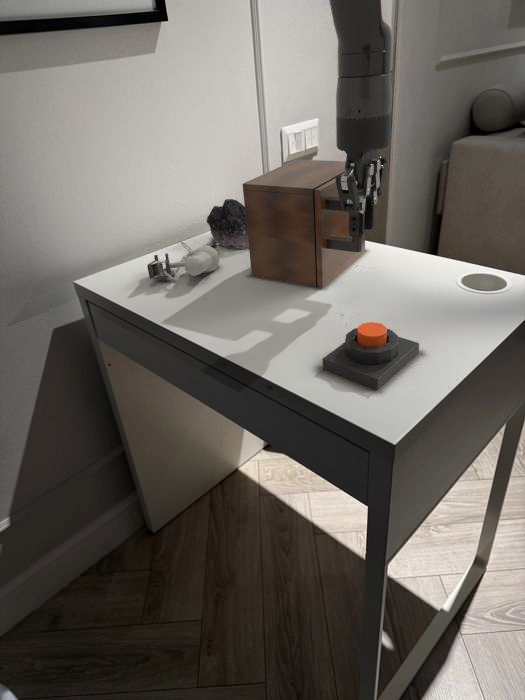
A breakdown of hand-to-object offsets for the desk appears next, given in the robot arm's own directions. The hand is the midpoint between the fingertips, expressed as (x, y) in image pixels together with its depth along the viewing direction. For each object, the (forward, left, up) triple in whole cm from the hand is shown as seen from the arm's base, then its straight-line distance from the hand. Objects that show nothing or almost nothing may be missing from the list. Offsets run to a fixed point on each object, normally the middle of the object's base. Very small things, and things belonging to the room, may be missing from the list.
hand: (361, 231), depth 80 cm
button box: (+3, +22, -10) cm, 24 cm away
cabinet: (+7, -13, -10) cm, 18 cm away
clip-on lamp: (+29, -16, -10) cm, 35 cm away
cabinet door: (-1, -7, -10) cm, 12 cm away
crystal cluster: (+19, -31, -10) cm, 38 cm away
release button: (+3, +22, -7) cm, 23 cm away
